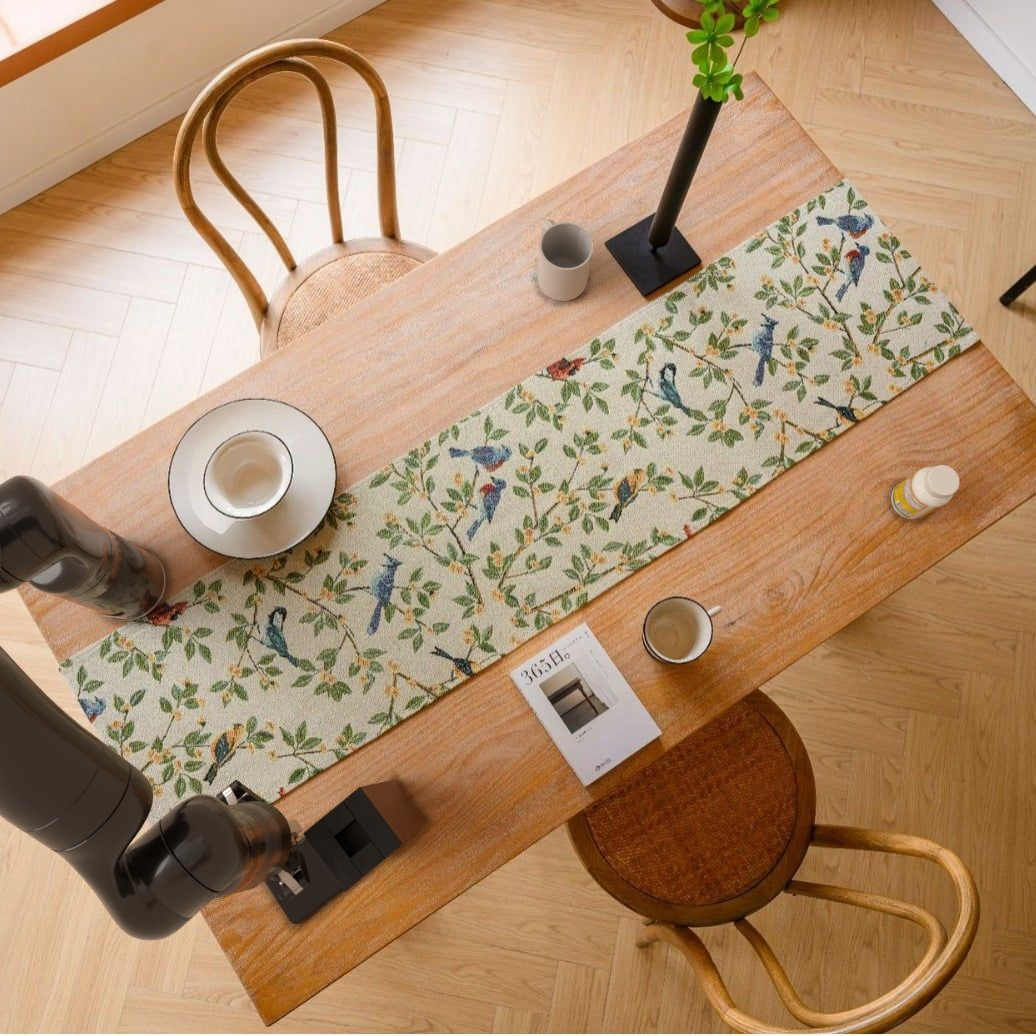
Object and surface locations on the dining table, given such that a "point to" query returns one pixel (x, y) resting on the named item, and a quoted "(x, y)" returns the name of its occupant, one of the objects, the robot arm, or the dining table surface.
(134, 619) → the robot arm
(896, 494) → the supplement bottle
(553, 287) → the cup
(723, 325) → the dining table surface
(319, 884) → the smartphone
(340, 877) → the holder
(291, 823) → the grey square peg
